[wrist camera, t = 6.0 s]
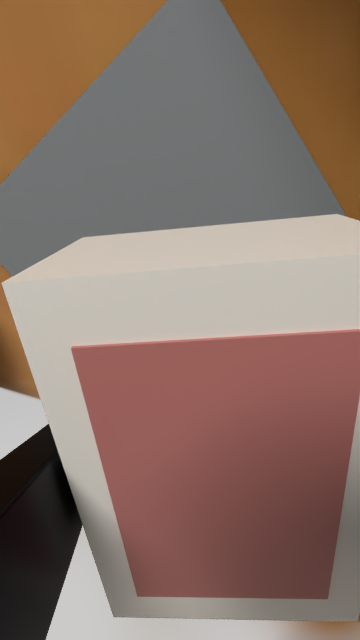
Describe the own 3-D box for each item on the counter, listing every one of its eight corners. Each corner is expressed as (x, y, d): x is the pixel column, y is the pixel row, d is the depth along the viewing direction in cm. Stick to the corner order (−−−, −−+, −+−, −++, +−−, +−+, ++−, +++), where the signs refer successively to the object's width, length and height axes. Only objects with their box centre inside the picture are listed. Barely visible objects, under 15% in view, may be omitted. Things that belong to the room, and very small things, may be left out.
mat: (-30, 224, 16) (-38, 226, 15) (199, -26, 12) (199, -35, 11) (196, 450, 21) (196, 458, 20) (411, 333, 17) (418, 339, 16)
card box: (138, 492, 12) (112, 620, 8) (83, 237, 8) (-2, 284, 5) (311, 489, 11) (358, 625, 8) (337, 213, 7) (448, 248, 4)
